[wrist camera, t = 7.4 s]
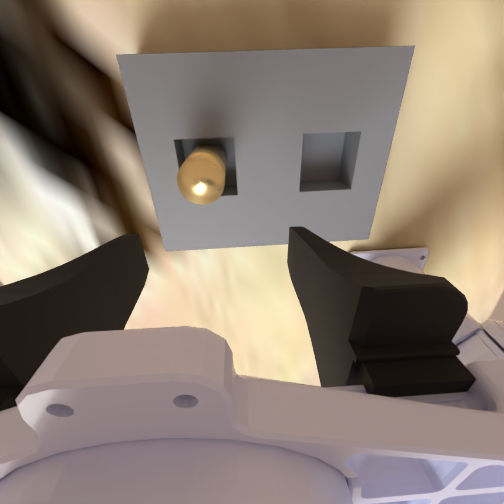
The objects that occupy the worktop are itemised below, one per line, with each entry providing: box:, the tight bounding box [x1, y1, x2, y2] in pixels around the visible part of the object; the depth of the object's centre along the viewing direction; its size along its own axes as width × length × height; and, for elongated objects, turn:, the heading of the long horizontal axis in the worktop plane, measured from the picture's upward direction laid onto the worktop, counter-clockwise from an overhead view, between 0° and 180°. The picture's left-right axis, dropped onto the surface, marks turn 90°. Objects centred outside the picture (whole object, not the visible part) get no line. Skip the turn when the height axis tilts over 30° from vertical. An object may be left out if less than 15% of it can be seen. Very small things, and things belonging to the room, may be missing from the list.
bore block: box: [116, 46, 415, 251], centre depth 18 cm, size 12×16×3 cm
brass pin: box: [177, 141, 226, 205], centre depth 16 cm, size 2×2×6 cm
